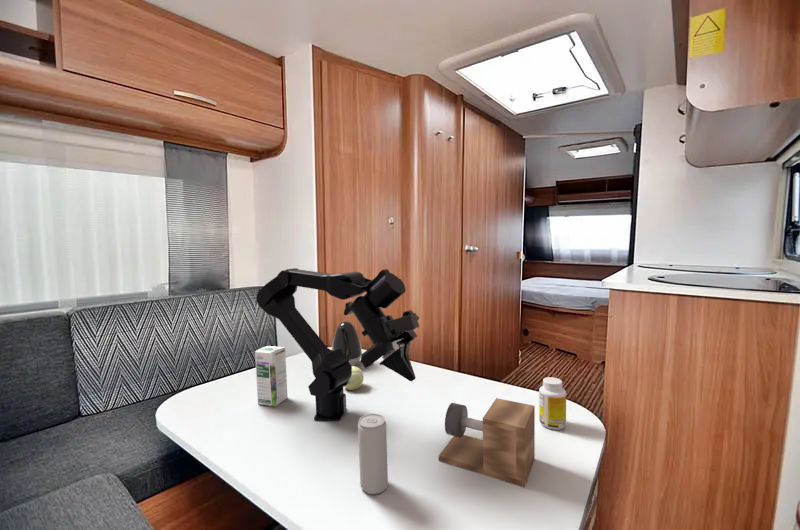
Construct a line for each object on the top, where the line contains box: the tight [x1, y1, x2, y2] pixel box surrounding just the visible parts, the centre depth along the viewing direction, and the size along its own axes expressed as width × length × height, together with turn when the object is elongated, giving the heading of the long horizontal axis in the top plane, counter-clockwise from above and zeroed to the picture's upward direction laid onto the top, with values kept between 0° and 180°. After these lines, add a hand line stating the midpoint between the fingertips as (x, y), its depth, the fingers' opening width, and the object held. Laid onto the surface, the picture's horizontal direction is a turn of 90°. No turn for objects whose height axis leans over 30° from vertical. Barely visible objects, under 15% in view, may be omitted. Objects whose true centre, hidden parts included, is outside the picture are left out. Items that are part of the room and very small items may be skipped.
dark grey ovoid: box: [331, 320, 363, 367], centre depth 122 cm, size 10×10×15 cm
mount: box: [438, 397, 536, 488], centre depth 69 cm, size 16×9×10 cm, turn 60°
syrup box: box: [254, 345, 289, 407], centre depth 97 cm, size 6×6×14 cm
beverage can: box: [357, 413, 389, 496], centre depth 62 cm, size 5×5×12 cm
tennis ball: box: [343, 365, 365, 391], centre depth 104 cm, size 6×7×7 cm
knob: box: [444, 402, 483, 438], centre depth 70 cm, size 8×6×6 cm
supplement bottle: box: [538, 376, 567, 431], centre depth 81 cm, size 6×6×10 cm
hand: (413, 380), depth 77 cm, fingers closed
